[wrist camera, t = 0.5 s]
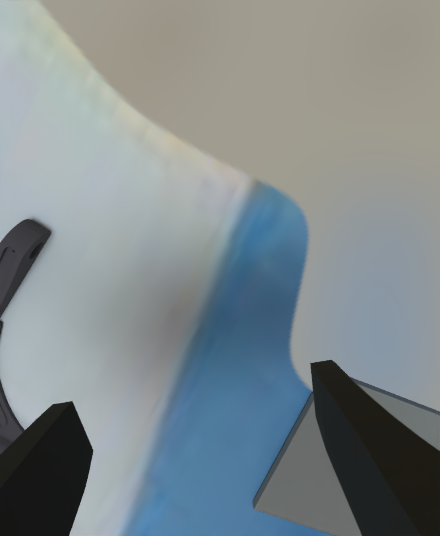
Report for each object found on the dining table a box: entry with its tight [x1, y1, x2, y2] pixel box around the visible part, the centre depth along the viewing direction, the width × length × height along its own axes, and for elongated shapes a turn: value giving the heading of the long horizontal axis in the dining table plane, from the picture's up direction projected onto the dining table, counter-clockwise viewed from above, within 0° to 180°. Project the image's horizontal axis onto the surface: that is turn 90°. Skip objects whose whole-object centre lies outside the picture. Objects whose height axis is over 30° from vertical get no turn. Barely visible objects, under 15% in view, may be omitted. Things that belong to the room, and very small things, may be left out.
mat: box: [253, 377, 440, 536], centre depth 24 cm, size 11×14×1 cm
